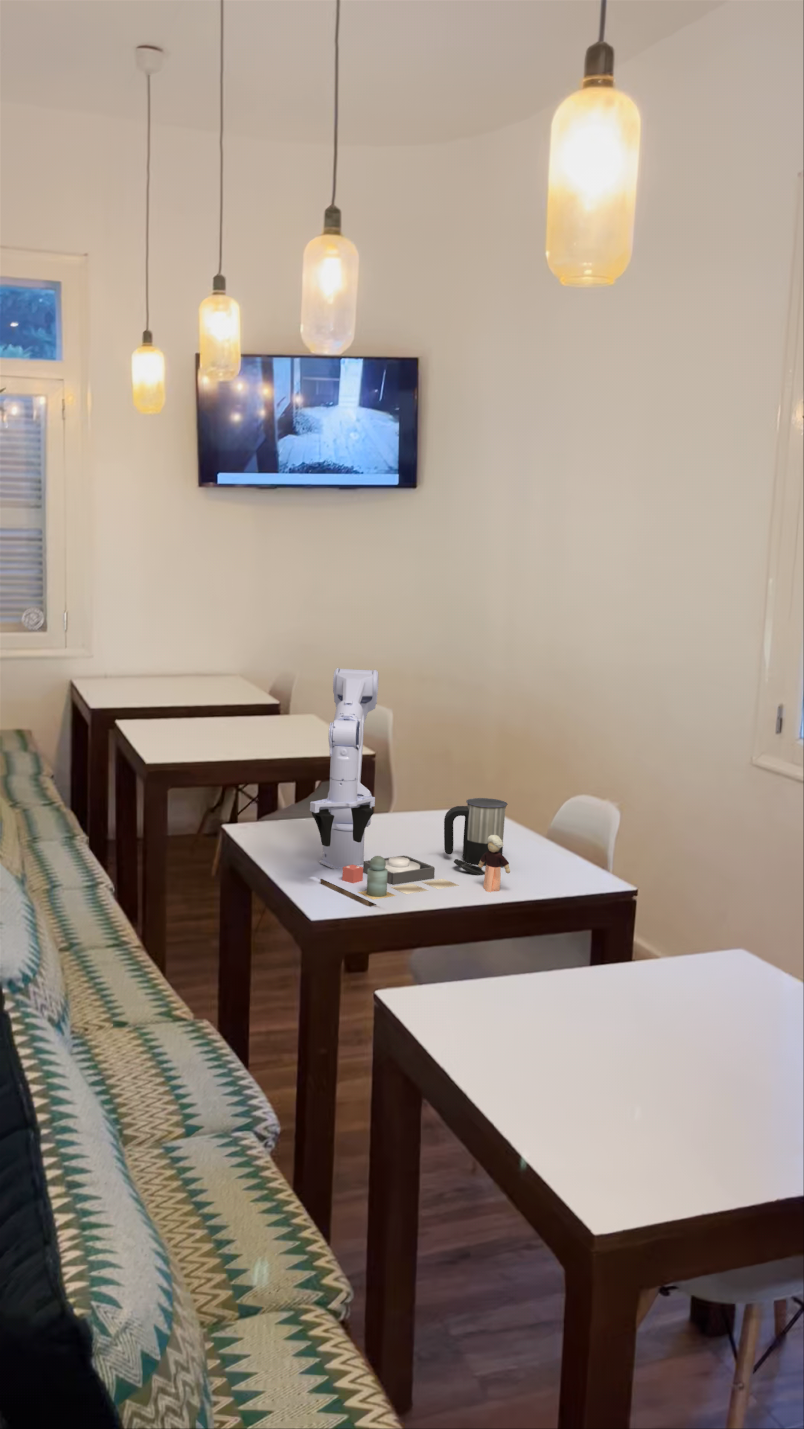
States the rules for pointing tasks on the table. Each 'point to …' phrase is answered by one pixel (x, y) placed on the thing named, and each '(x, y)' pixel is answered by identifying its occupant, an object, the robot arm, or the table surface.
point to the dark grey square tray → (406, 872)
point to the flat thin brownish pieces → (402, 888)
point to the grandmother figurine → (493, 864)
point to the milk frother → (475, 830)
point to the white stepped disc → (400, 864)
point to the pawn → (377, 877)
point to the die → (352, 874)
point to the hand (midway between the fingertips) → (341, 843)
